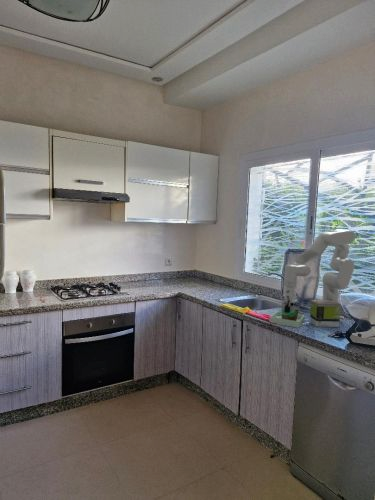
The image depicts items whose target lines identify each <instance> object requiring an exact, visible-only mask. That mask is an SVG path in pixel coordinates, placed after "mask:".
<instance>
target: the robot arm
mask: <svg viewBox="0 0 375 500" xmlns="http://www.w3.org/2000/svg"><path fill="white" fill-rule="evenodd" d="M355 239H356V233H355V231H353V230H351V229H344V228H343V229H341V228H337V229H334V230H332V231H322V232H321V233H320V234H319V235H318V236H317V237H316V238H315V240H314V241H313V243H311V245H310V246H309V248H308V249H306V250H304V251H303V252H302V253H301V254H299V255H297V257H296V258H294V261H293V262H292V263H291V264H290V263H289V264H285V266H284V278H283V279H284V280H283V287H284V288H285V289H284V305H285V311H284V312H286V313H290V305H291V306H294V303H295V301H296V288H297V285H298V283H297V282H298V281H297V280H298V277H303V278H305V277H308V276H309V275H310V274H311V271H312V270H311V267H310V266H309V265H307V264H306V263H307V262H309V261H312V260H315V259H318V258H320V257H321V256H322V255H323V254H324V252H325V251H326V249H327V248H328V246H332V247H334V252H333V254H332V257H331V260H330V264H329V268H330V269H331V270H332V271H328V272H326V273H324V275H323V276H322V300H328V301H335V302H337V303H339V290H341V291H342V290H345V289H346V288H347V287H348V286H349V284H350V281H351V279H352V276H353V273H354V270H355V263H354V261H353V260H352V259H351V258H348V256H349V253H350V247H349V244H352V243H353V242H354V241H355ZM333 271H335V272H333ZM337 272H338V273H337ZM340 320H345V316H343V315H340Z"/></svg>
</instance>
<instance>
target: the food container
mask: <svg viewBox="0 0 375 500" xmlns="http://www.w3.org/2000/svg"><path fill="white" fill-rule="evenodd" d="M280 307H281V312H282V319H287V320H293V321H296V320H297V316H298V314H299V311H300V310H301V309H300V306H299V305H297V306H295V305H293V306H291V305H290V313H286V312H284V311H285V303H284V302H281V304H280Z"/></svg>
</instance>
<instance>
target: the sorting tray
mask: <svg viewBox="0 0 375 500" xmlns="http://www.w3.org/2000/svg"><path fill="white" fill-rule="evenodd" d="M305 319H306V316H305V315H304V314H299V313H298V316H297V320H296V321H293V320H287V319H282V310H281V311H279V310H276V311H275V312H273V314H272V315H270V316H269V322H268V323H270V322H271V324H275V323H276V324H277V325H282V326H287V327H293V328H298V329H299V328H300V327H301V326H302V325H303V323H304V322H305Z"/></svg>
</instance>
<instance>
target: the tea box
mask: <svg viewBox="0 0 375 500" xmlns="http://www.w3.org/2000/svg"><path fill="white" fill-rule="evenodd" d="M340 316H341V303H339V302H338V303H337V302H335V301H328V300H321V299H319V300H318V299H317V300H315V299H311V301H310V313H309V322H310V323H311V324H312V325H313V326H315V327H321V328H322V327H327V328H329V327H330V328H333V327H334V328H340V322H341V319H340Z"/></svg>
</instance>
